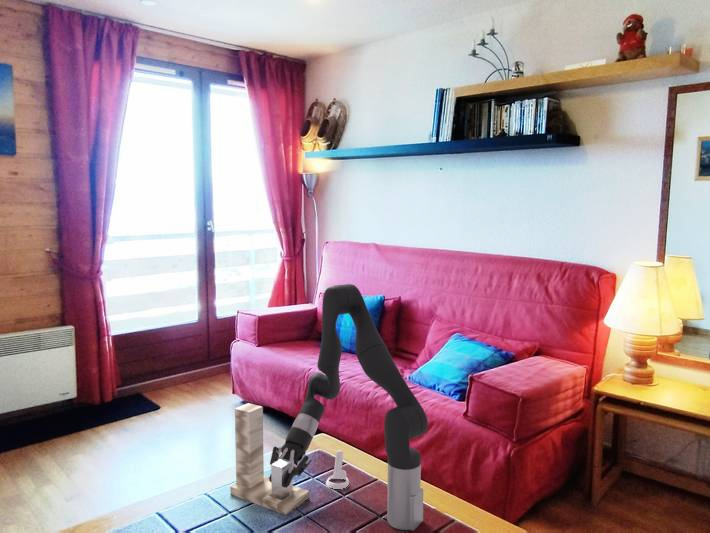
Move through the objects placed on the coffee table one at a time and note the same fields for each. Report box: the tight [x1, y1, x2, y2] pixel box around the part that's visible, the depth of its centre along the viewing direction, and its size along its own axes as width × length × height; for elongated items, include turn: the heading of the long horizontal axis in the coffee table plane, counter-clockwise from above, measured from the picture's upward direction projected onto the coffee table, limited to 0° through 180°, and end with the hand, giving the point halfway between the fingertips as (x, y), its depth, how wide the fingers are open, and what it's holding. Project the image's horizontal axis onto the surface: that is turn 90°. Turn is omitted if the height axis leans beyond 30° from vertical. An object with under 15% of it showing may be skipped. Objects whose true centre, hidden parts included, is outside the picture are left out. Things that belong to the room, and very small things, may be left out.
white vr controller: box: [325, 449, 350, 490], centre depth 179 cm, size 8×12×7 cm
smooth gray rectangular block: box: [270, 459, 294, 500], centre depth 166 cm, size 4×5×11 cm
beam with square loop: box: [229, 402, 310, 516], centre depth 168 cm, size 22×11×26 cm, turn 57°
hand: (277, 484), depth 165 cm, fingers open, 4 cm apart
